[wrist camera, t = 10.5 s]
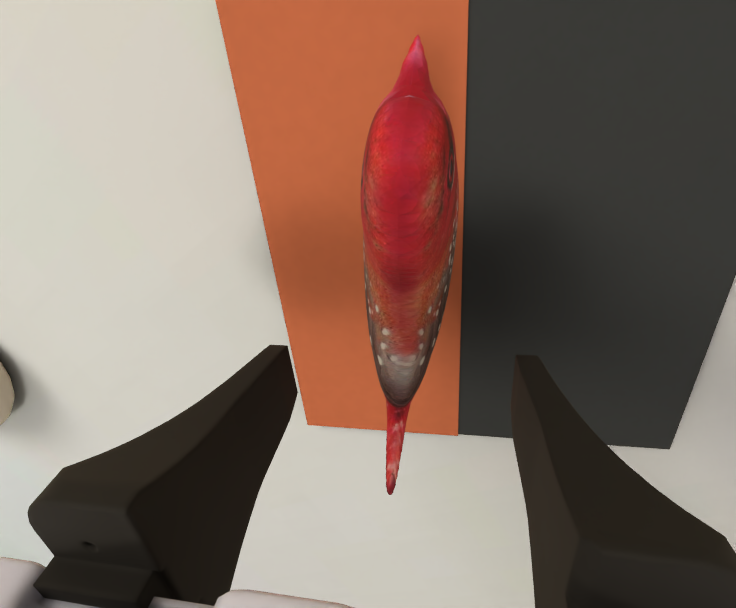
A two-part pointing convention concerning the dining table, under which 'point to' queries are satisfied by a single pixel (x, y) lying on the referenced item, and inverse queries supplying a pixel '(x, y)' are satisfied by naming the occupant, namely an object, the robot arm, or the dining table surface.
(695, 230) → the orange and black board
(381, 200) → the decorative bird figurine
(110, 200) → the dining table surface
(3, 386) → the donut
